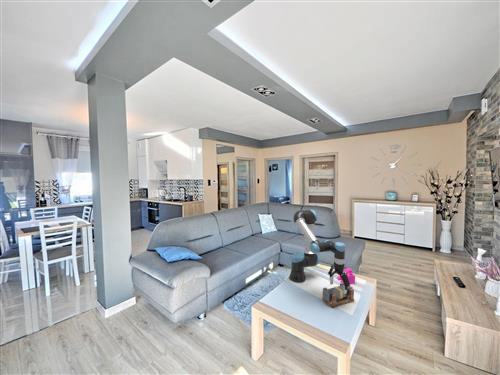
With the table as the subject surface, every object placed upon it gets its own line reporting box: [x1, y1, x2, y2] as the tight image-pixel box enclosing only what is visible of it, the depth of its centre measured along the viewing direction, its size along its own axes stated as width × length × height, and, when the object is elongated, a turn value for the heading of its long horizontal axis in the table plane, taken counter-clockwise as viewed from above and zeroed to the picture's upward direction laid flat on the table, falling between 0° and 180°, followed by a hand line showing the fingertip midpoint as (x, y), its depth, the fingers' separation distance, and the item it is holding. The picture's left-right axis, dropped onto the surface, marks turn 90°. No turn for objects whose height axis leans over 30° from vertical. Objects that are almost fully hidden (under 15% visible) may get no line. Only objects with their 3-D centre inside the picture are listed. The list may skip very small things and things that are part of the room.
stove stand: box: [321, 282, 355, 309], centre depth 165 cm, size 11×22×10 cm, turn 113°
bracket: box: [336, 267, 356, 285], centre depth 195 cm, size 12×10×10 cm
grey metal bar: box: [324, 285, 354, 302], centre depth 165 cm, size 24×6×6 cm, turn 113°
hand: (338, 288), depth 165 cm, fingers open, 13 cm apart
